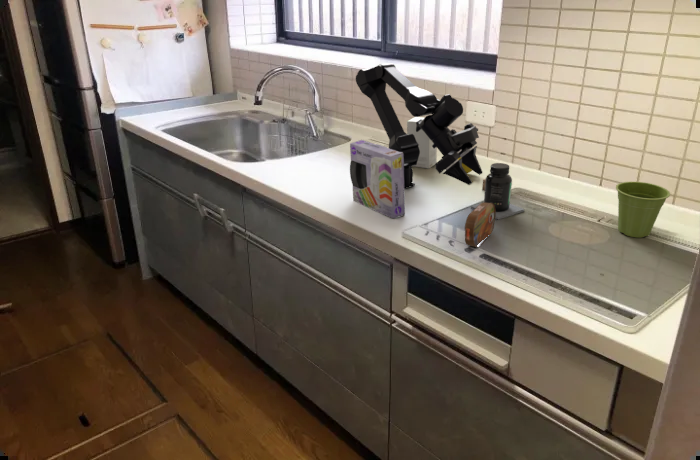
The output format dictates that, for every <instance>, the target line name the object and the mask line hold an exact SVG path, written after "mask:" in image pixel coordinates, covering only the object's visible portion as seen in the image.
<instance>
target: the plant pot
mask: <svg viewBox="0 0 700 460" xmlns="http://www.w3.org/2000/svg"><path fill="white" fill-rule="evenodd" d="M615 189H616V191H617V199H618V210H617V211H618V213H617V215H618V217H617V219H618V220H617V222H618V223H617V230H618V232H619V233H623V235H626V236H627V237H631V238H636V239H637V238H638V239H641V238H644V237H649V236H650V234H651V232H652V230H653V228H654V227H655V226H654V225H655V223H656V220H657V219H658V216H659V214H660V211H661V210H662V207H663V206H664V205H665V202H666V200H667V199H668V198H670V195H671V192H670V191H669V190H668V189H667V188H666V187H663V186H661V185H657V184H655V183H651V182H643V181H624V182H619V183H617V184H616V186H615Z"/></svg>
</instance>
